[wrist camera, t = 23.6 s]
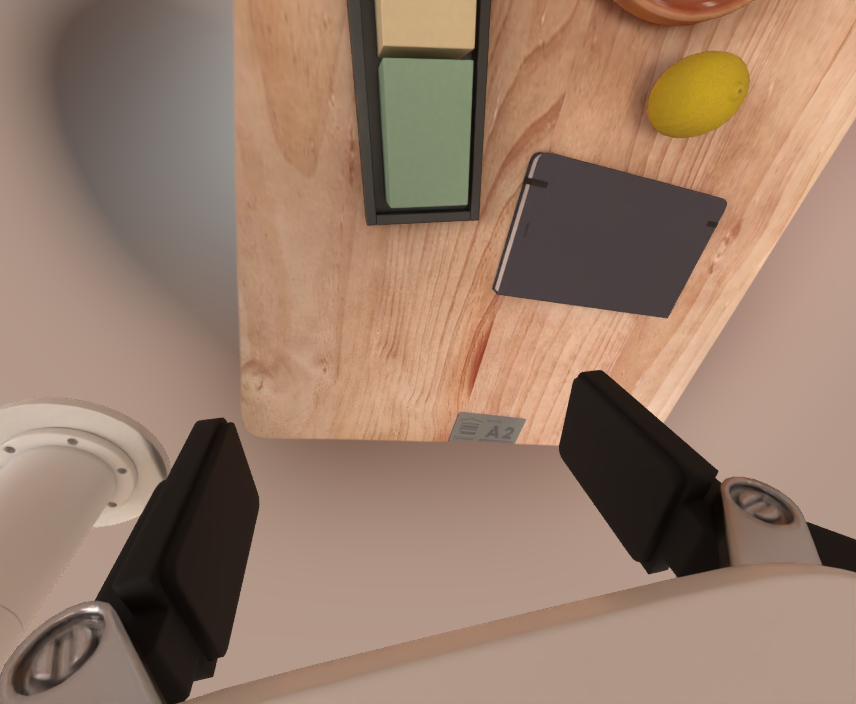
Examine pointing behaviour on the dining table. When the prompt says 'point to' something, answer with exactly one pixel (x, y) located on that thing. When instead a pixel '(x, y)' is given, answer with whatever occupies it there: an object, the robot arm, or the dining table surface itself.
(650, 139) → the dining table surface
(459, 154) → the pad
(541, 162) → the notebook
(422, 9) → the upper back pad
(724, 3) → the saucer
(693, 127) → the lemon
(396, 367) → the dining table surface
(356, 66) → the tray
